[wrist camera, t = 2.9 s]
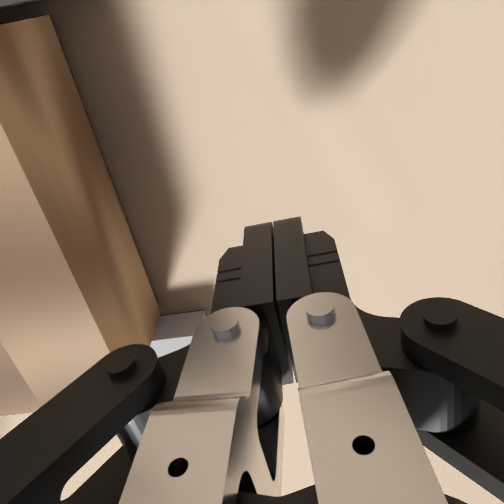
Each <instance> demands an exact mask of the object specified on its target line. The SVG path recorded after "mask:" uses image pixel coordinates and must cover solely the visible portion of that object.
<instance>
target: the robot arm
mask: <svg viewBox="0 0 504 504" xmlns="http://www.w3.org/2000/svg"><path fill="white" fill-rule="evenodd" d="M273 224H274V228H273ZM273 224H272V222H268V223H263V224H258V225H253V226H247V227H245V229H244V241H243V246H238V247H232V248H228V250H227V251H226V252H225V253H224V255H223V256H222V257H221V259H220V260H219V266H218V274H217V278H216V285H215V291H214V297H213V303H212V309H211V314H210V315H208V316H207V317H205V318H204V319H203V320H202V321H201V322H200V323H199V324H198V325H197V327H196V328H195V331H194V334H193V337H192V340H191V344H189V345H187V346H185V347H183V348H181V349H179V350H176V351H174V352H171V353H169V354H166V355H164V356H161V357H159V358H158V357H157V354H156V352H155V350H154V349H153V348H151V347H150V346H148V345H144V344H131V345H127V346H123V347H120V348H118V349H116V350H114V351H112V352H110V353H109V354H107V355H106V356H104V357H103V358H102V359H101V360H99V361H98V362H97V363H96V364H94V365H93V366H92V367H91V368H89V369H88V370H87V371H86V372H84V373H83V374H82V375H80V376H79V377H78V378H77V379H75V380H74V381H73V382H72V383H70V384H69V385H68V386H67V387H65V388H64V389H63V390H62V391H60V392H59V393H58V394H57V395H55V396H54V397H53V398H52V399H50V400H49V401H48V402H47V403H45V404H44V405H43V406H41V407H40V408H39V409H38V410H36V411H35V412H34V413H33V414H31V415H30V416H29V417H28V418H26V419H25V420H24V421H23V422H21V423H20V424H19V425H18V426H16V427H15V428H14V429H13V430H11V431H10V432H9V433H8V434H6V435H5V436H4V437H3V438H1V439H0V504H467V503H465V502H463V501H461V500H459V499H456V498H453V497H451V496H448V495H445V494H444V493H443V491H442V489H441V486H440V484H439V482H438V479H437V477H436V475H435V473H434V470H433V468H432V466H431V463H430V461H429V459H428V456H427V454H426V452H425V449H424V447H423V446H425V447H426V448H428V449H429V450H430V451H432V452H433V453H435V454H436V455H437V456H439V457H440V458H442V459H443V460H445V461H446V462H447V463H449V464H450V465H452V466H453V467H454V468H456V469H457V470H459V471H460V472H462V473H463V474H464V475H466V476H467V477H469V478H470V479H471V480H473V481H474V482H476V483H477V484H478V485H480V486H481V487H483V488H484V489H486V490H487V491H488V492H490V493H491V494H493V495H494V496H495V497H497V498H498V499H500V500H501V501H503V502H504V318H502V317H499V316H497V315H494V314H492V313H489V312H487V311H484V310H482V309H479V308H477V307H474V306H472V305H469V304H467V303H464V302H462V301H459V300H455V299H451V298H441V297H435V298H427V299H422V300H419V301H416V302H414V303H412V304H411V305H409V306H408V307H407V308H406V309H404V311H403V312H402V314H401V316H400V318H393V317H381V316H376V315H372V314H369V313H366V312H364V311H362V310H360V309H359V308H357V307H356V306H355V305H354V303H353V302H352V301H351V299H350V296H349V292H348V288H347V285H346V281H345V277H344V274H343V270H342V266H341V263H340V259H339V255H338V252H337V248H336V244H335V241H334V239H333V238H332V237H331V236H330V235H328V234H327V233H326V232H324V231H319V232H314V233H308V234H304V233H303V228H302V222H301V217H295V218H289V219H284V220H279V221H274V222H273ZM292 367H293V371H294V375H295V379H296V383H297V382H298V385H299V388H298V392H299V398H300V404H301V409H302V415H303V420H304V426H305V431H306V437H307V442H308V448H309V453H310V459H311V464H312V470H313V475H314V481H315V485H312V486H309V487H307V488H304V489H301V490H299V491H296V492H293V493H291V494H288V495H285V496H281V481H282V458H283V435H284V410H283V406H282V400H283V394H282V385H284V384H291V383H293V372H292ZM116 434H117V436H118V438H119V439H120V441H121V443H122V445H123V446H122V447H121V448H120V449H119V450H118V451H117V452H115V453H114V454H113V455H112V456H111V457H110V458H109V459H108V460H107V461H106V462H105V463H104V464H103V465H102V466H101V467H100V468H99V469H98V470H97V471H96V472H95V473H94V474H93V475H92V476H91V477H90V478H89V479H88V480H87V481H86V482H84V483H83V484H82V485H81V486H80V487H79V488H78V489H77V490H76V491H75V492H74V493H73V494H72V495H71V496H70V497H68V498H67V499H65V500H62V501H60V497H61V492H62V490H63V488H64V486H65V484H66V482H67V481H68V480H69V479H70V478H71V477H72V476H73V475H74V474H75V473H76V472H77V471H78V470H79V469H80V468H81V467H82V466H83V465H84V464H85V463H86V462H88V461H89V460H90V459H91V458H92V457H93V456H94V455H95V454H96V453H97V452H98V451H99V450H100V449H101V448H102V447H104V446H105V445H106V444H107V443H108V442H109V441H110V440H111V439H112V438H113V437H114V436H115V435H116Z"/></svg>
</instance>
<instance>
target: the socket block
mask: <svg viewBox="0 0 504 504" xmlns="http://www.w3.org/2000/svg"><path fill="white" fill-rule="evenodd" d="M160 313H161V312H160V309H159V307H158V304H157V301H156V299H155V296H154V293H153V291H152V288H151V285H150V283H149V280H148V277H147V275H146V272H145V269H144V267H143V264H142V261H141V259H140V256H139V253H138V251H137V248H136V245H135V243H134V240H133V237H132V235H131V232H130V229H129V227H128V224H127V221H126V219H125V216H124V213H123V211H122V208H121V205H120V203H119V200H118V197H117V195H116V192H115V189H114V187H113V184H112V181H111V179H110V176H109V173H108V171H107V168H106V165H105V163H104V160H103V157H102V155H101V152H100V149H99V147H98V144H97V141H96V139H95V136H94V133H93V131H92V128H91V125H90V123H89V120H88V117H87V115H86V112H85V109H84V107H83V104H82V101H81V98H80V96H79V93H78V90H77V88H76V85H75V82H74V80H73V77H72V74H71V72H70V69H69V66H68V64H67V61H66V58H65V56H64V53H63V50H62V48H61V45H60V42H59V40H58V37H57V34H56V32H55V29H54V26H53V24H52V21H51V18H50V16H49V15H45V16H40V17H35V18H31V19H26V20H21V21H16V22H11V23H6V24H2V25H0V416H4V415H13V414H22V413H31V412H35V411H36V410H38V409H39V408H40V407H41V406H43V405H44V404H45V403H47V402H48V401H49V400H50V399H52V398H53V397H54V396H55V395H57V394H58V393H59V392H60V391H62V390H63V389H64V388H65V387H67V386H68V385H69V384H70V383H72V382H73V381H74V380H75V379H77V378H78V377H79V376H80V375H82V374H83V373H84V372H86V371H87V370H88V369H89V368H91V367H92V366H93V365H94V364H96V363H97V362H98V361H99V360H101V359H102V358H103V357H104V356H106V355H107V354H109V353H110V352H112V351H114V350H116V349H118V348H120V347H123V346H127V345H131V344H144V345H148V346H151V342H152V339H153V336H154V333H155V329H156V326H157V323H158V320H159V317H160Z"/></svg>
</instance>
